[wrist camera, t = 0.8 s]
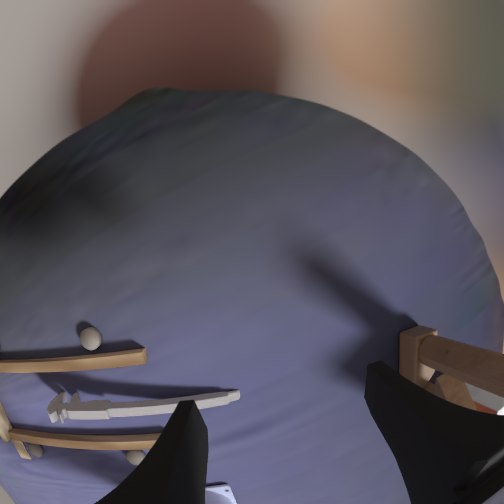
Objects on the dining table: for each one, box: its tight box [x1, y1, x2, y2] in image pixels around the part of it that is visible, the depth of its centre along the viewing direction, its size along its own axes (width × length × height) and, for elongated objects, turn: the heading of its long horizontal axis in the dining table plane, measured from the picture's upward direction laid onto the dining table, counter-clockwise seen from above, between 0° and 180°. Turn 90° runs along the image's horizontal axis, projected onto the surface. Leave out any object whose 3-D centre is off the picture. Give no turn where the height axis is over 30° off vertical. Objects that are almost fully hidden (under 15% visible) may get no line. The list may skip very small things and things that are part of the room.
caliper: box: [47, 390, 240, 424], centre depth 23 cm, size 20×1×6 cm, turn 95°
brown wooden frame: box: [399, 325, 504, 411], centre depth 21 cm, size 4×11×18 cm, turn 7°
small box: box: [465, 383, 504, 415], centre depth 26 cm, size 8×6×10 cm
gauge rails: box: [0, 327, 161, 465], centre depth 23 cm, size 20×27×2 cm
